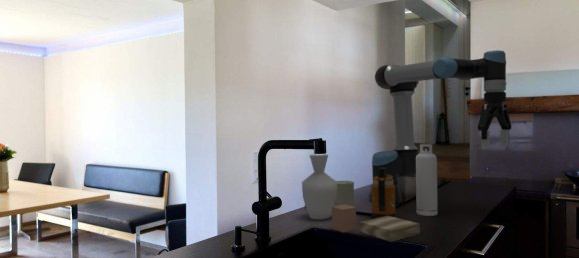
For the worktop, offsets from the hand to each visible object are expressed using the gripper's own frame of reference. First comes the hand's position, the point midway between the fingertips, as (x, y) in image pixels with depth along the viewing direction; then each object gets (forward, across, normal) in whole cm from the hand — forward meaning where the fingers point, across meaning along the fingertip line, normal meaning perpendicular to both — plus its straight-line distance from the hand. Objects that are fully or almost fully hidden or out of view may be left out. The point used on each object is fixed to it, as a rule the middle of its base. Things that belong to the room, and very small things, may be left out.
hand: (495, 147), depth 151 cm
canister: (+27, -34, +26) cm, 51 cm away
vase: (+28, -52, +43) cm, 73 cm away
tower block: (+27, -56, +24) cm, 67 cm away
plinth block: (+28, -47, +11) cm, 56 cm away
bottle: (+27, -14, +20) cm, 37 cm away
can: (+28, -34, +49) cm, 65 cm away
